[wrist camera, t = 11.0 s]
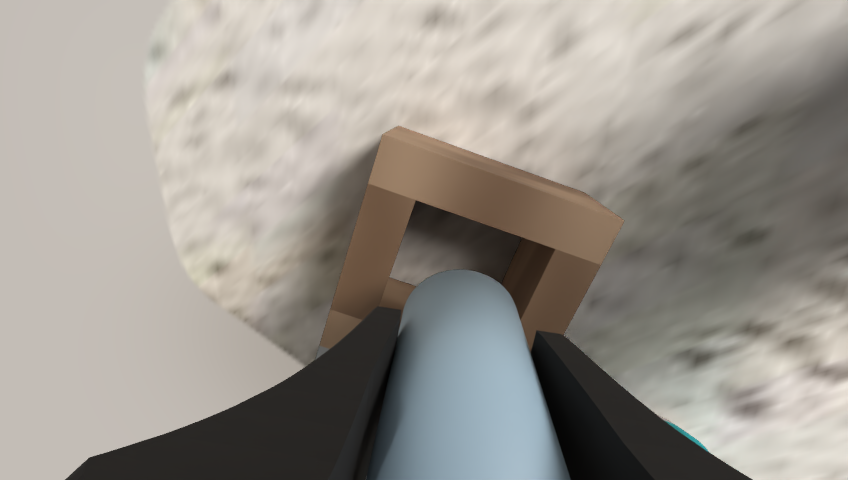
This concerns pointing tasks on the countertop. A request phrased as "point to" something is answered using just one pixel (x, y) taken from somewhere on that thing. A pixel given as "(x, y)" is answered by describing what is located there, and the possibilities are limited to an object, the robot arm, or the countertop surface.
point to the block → (483, 202)
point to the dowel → (464, 390)
